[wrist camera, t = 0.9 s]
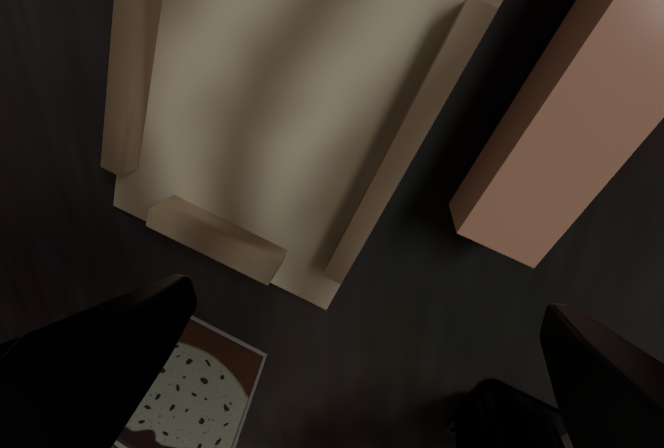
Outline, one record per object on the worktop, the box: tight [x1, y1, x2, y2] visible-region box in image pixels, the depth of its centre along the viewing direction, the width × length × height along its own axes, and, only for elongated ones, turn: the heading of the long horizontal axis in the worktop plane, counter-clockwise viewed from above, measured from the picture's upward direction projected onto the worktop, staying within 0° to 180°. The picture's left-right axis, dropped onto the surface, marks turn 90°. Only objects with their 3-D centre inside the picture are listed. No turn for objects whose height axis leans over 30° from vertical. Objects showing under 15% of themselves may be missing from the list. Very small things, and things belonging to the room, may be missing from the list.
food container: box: [112, 316, 267, 448], centre depth 25 cm, size 12×6×10 cm, turn 64°
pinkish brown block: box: [449, 0, 664, 268], centre depth 14 cm, size 4×14×4 cm, turn 158°
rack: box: [101, 0, 503, 310], centre depth 17 cm, size 16×22×4 cm
